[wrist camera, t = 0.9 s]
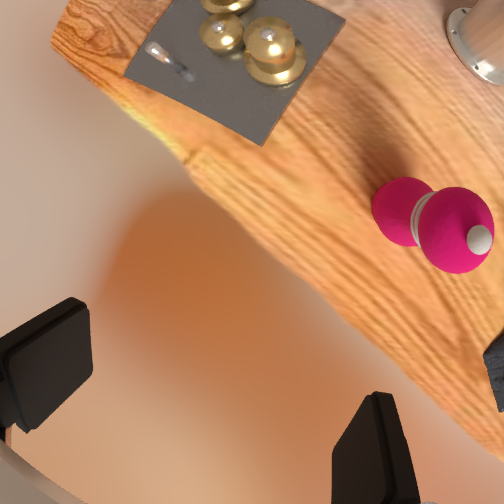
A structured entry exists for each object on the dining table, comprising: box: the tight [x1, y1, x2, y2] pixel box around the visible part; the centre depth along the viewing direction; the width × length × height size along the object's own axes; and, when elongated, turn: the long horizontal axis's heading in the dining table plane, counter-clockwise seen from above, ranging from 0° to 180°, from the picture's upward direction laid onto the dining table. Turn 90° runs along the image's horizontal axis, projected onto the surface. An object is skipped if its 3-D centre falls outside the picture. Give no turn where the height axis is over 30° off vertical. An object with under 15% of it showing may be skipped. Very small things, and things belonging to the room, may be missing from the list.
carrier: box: [123, 0, 346, 147], centre depth 27 cm, size 20×22×9 cm
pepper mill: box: [372, 177, 494, 274], centre depth 23 cm, size 7×7×20 cm
